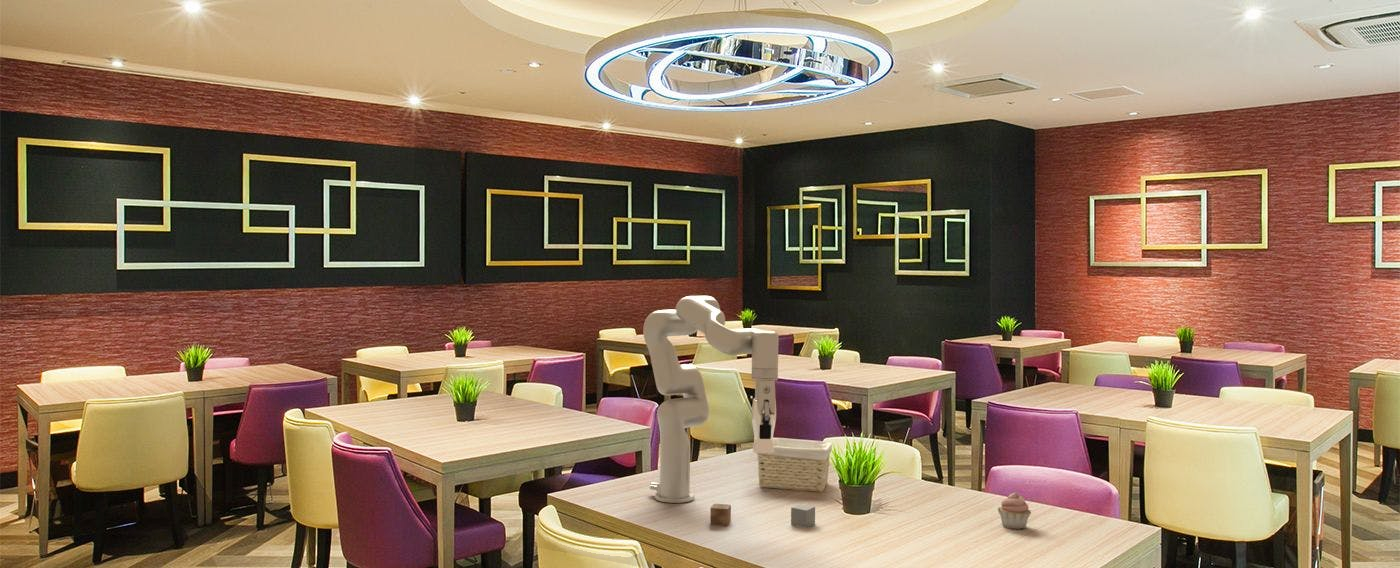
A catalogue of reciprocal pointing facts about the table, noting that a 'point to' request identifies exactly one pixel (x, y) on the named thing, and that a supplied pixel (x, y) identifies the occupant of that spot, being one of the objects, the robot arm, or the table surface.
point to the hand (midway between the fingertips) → (763, 435)
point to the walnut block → (720, 514)
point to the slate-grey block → (802, 515)
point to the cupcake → (1014, 512)
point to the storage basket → (795, 465)
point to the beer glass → (759, 444)
